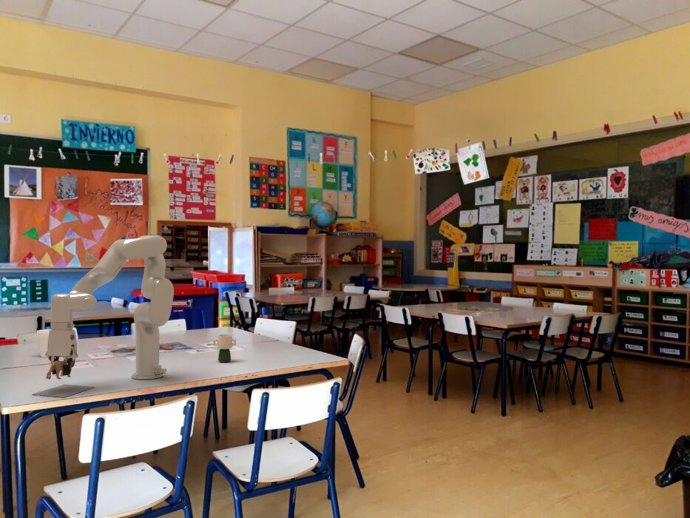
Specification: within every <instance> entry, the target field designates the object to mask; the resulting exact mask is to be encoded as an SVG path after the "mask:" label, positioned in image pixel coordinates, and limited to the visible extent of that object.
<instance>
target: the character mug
mask: <svg viewBox="0 0 690 518" xmlns="http://www.w3.org/2000/svg"><path fill="white" fill-rule="evenodd" d="M216 341H217V342H216ZM212 342H213V346H217V347H216V348H217V349H219V351H218V356H217V357H218V358H217V361H219V362H221V363H223V362H224V363H225V362H227V363H228V362H229V361H231V360H232V355H231V350H230V349H231V348H232V347H233V346H237V338H233V335H232V334H230V333H222V334H217V337H216V338H213V340H212Z"/></svg>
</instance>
